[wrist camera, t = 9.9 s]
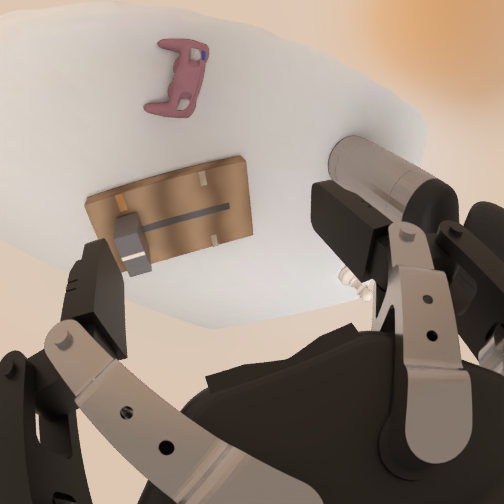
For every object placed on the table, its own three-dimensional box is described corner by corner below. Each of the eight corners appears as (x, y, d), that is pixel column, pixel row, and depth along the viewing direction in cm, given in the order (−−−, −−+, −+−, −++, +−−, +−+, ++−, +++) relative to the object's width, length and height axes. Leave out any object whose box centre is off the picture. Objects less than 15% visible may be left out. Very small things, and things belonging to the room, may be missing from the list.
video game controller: (170, 113, 33) (201, 123, 30) (139, 112, 30) (167, 123, 26) (186, 42, 28) (222, 42, 24) (155, 37, 25) (188, 33, 21)
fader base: (240, 155, 38) (246, 161, 36) (247, 226, 46) (253, 235, 44) (87, 197, 34) (84, 206, 32) (115, 264, 41) (114, 275, 39)
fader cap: (137, 212, 35) (137, 232, 31) (149, 248, 39) (152, 271, 35) (115, 218, 34) (113, 240, 30) (129, 254, 38) (130, 277, 34)
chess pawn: (350, 260, 60) (374, 287, 54) (359, 268, 63) (382, 294, 57) (334, 276, 62) (356, 304, 55) (344, 283, 65) (365, 310, 58)
